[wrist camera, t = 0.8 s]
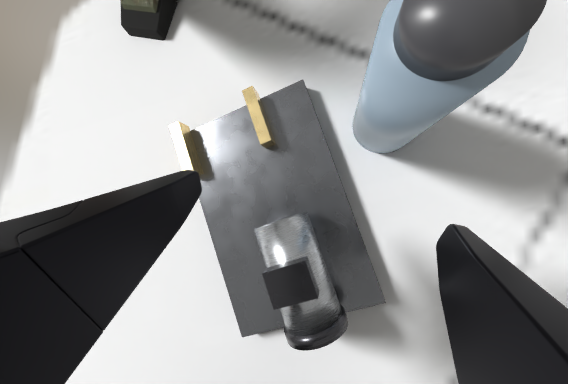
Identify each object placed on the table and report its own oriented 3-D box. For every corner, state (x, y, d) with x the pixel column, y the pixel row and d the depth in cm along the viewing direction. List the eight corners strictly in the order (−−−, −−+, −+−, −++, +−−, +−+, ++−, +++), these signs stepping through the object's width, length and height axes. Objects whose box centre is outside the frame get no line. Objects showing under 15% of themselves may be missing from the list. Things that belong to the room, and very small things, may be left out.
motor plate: (381, 294, 20) (408, 347, 13) (248, 327, 22) (210, 386, 15) (303, 82, 21) (289, 29, 15) (187, 135, 24) (130, 110, 17)
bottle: (425, 139, 19) (606, 28, 7) (364, 161, 20) (419, 102, 8) (402, 84, 20) (530, -120, 7) (344, 109, 21) (363, -32, 8)
